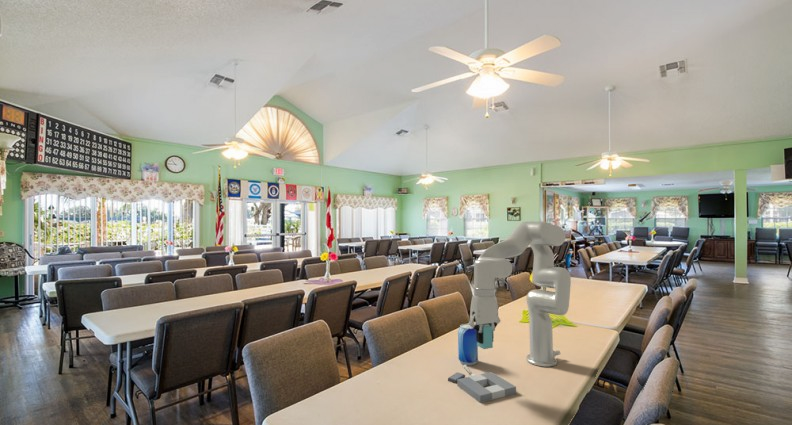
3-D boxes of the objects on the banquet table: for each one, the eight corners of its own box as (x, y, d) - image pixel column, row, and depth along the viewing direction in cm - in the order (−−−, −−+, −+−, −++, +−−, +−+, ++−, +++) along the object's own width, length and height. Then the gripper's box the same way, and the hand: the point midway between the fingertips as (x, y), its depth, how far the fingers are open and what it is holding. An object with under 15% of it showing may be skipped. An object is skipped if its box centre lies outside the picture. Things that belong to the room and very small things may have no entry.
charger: (485, 344, 135) (485, 322, 135) (492, 347, 131) (492, 324, 131) (477, 345, 133) (477, 323, 133) (483, 349, 129) (483, 326, 130)
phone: (457, 374, 144) (457, 372, 144) (465, 377, 142) (465, 374, 142) (448, 380, 139) (447, 377, 139) (455, 383, 136) (455, 380, 136)
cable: (463, 367, 151) (463, 364, 151) (465, 367, 152) (465, 364, 152) (472, 378, 141) (472, 375, 141) (475, 378, 141) (475, 375, 141)
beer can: (466, 367, 151) (466, 329, 152) (454, 360, 159) (454, 325, 159) (481, 363, 155) (481, 327, 156) (469, 357, 163) (469, 322, 163)
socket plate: (491, 377, 141) (491, 371, 141) (516, 393, 128) (516, 386, 128) (457, 385, 134) (457, 379, 135) (480, 402, 122) (479, 395, 122)
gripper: (495, 289, 139) (496, 336, 139) (460, 292, 133) (460, 341, 132) (508, 292, 133) (509, 341, 132) (471, 296, 126) (472, 348, 125)
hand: (484, 341), depth 132 cm, fingers closed on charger, 4 cm apart
